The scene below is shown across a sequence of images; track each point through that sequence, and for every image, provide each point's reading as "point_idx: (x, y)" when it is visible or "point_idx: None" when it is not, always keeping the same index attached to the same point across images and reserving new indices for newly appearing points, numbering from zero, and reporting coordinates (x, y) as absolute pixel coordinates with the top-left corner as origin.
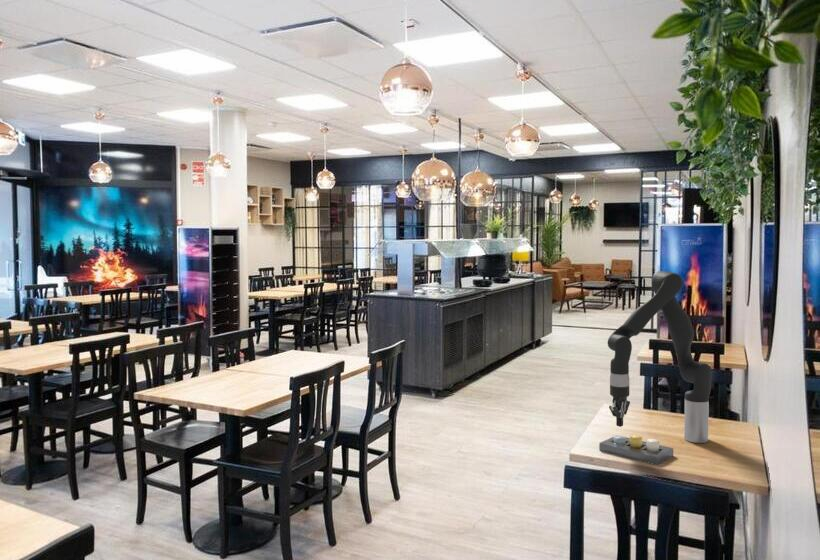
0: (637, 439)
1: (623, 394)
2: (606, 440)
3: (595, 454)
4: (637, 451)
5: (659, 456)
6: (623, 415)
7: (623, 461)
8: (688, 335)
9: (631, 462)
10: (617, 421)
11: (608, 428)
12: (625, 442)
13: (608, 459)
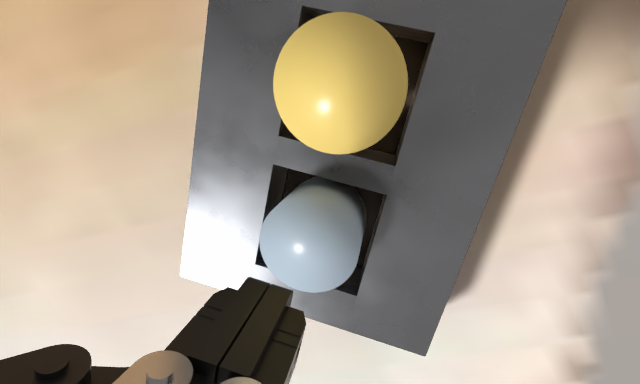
0: (400, 50)
1: None
2: (337, 320)
3: (511, 328)
4: (532, 21)
5: None
6: (169, 378)
7: (602, 124)
8: None
9: (604, 59)
10: (288, 378)
11: (18, 331)
12: (311, 187)
13: (594, 234)
